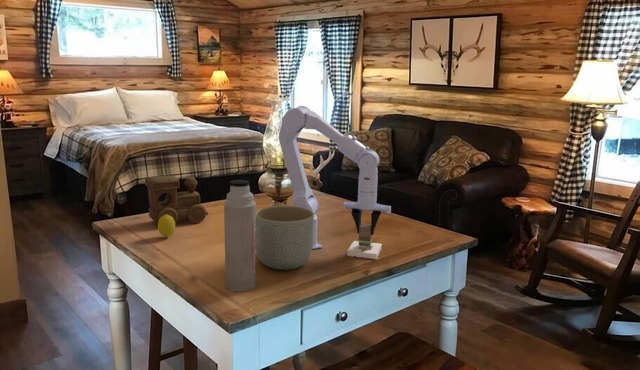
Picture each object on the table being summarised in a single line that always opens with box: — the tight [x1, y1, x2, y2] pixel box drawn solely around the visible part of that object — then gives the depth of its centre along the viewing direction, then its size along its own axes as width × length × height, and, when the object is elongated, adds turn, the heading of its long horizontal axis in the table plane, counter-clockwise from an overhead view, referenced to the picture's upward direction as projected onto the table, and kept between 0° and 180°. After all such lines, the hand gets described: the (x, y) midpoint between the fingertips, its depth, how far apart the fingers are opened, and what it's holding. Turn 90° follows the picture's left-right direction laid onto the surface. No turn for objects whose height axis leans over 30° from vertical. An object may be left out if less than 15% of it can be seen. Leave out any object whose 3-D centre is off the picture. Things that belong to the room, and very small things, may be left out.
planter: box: [256, 205, 314, 271], centre depth 158 cm, size 17×17×15 cm
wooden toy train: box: [144, 174, 209, 224], centre depth 196 cm, size 20×11×17 cm, turn 121°
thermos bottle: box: [223, 179, 257, 292], centre depth 141 cm, size 8×8×28 cm
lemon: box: [157, 214, 176, 238], centre depth 179 cm, size 6×6×8 cm
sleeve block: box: [346, 240, 383, 260], centre depth 171 cm, size 10×9×2 cm
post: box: [357, 222, 373, 246], centre depth 170 cm, size 4×4×6 cm
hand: (365, 233), depth 170 cm, fingers closed on post, 3 cm apart
